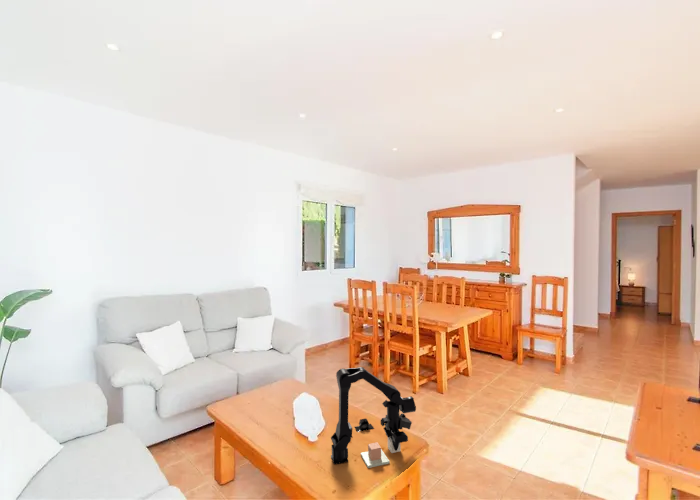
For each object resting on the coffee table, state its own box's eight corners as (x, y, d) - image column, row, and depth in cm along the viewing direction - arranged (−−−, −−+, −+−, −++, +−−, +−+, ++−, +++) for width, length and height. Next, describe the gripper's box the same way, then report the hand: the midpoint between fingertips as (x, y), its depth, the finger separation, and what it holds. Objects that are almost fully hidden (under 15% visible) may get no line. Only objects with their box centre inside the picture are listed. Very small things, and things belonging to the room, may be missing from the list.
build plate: (367, 468, 157) (367, 465, 157) (360, 454, 166) (360, 452, 166) (389, 463, 160) (389, 461, 160) (381, 450, 169) (381, 448, 169)
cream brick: (391, 453, 167) (391, 442, 167) (387, 447, 172) (387, 437, 171) (400, 451, 168) (400, 440, 168) (396, 446, 173) (396, 435, 173)
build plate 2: (354, 434, 185) (354, 425, 185) (350, 427, 192) (350, 419, 192) (377, 429, 189) (377, 421, 189) (372, 423, 196) (372, 414, 195)
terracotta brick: (371, 460, 160) (371, 449, 160) (368, 455, 165) (368, 444, 164) (381, 458, 162) (380, 447, 161) (377, 453, 166) (377, 442, 166)
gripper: (418, 420, 163) (419, 455, 163) (400, 403, 181) (401, 434, 181) (395, 425, 160) (396, 460, 160) (379, 406, 178) (380, 438, 178)
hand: (394, 447), depth 170 cm, fingers closed on cream brick, 4 cm apart
